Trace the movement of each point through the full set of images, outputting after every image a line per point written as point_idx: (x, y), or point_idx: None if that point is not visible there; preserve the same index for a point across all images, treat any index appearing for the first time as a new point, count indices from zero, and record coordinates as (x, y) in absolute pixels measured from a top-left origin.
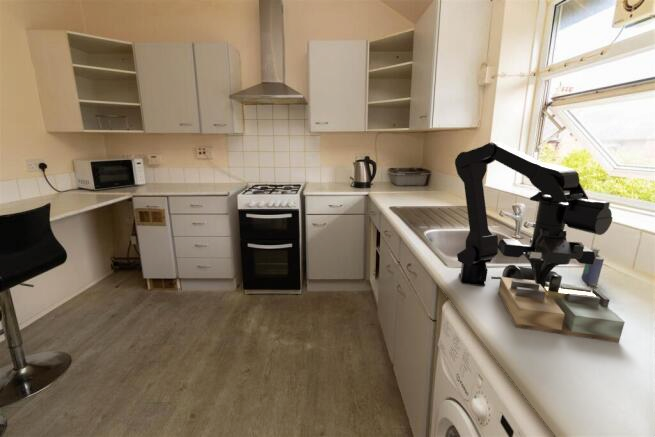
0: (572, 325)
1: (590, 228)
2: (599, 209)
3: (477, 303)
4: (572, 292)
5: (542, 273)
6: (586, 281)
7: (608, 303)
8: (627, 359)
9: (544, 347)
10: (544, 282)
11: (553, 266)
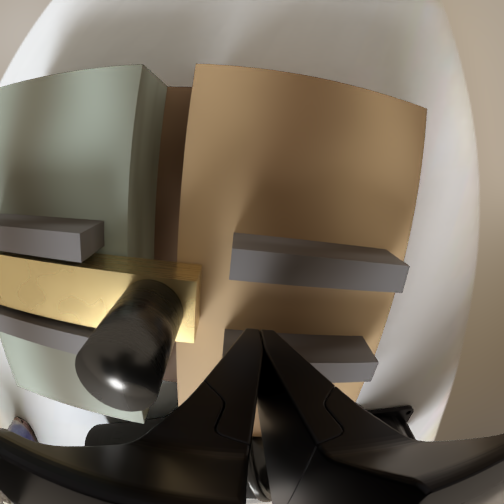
0: (160, 83)
1: None
2: None
3: (437, 285)
4: (56, 287)
5: (258, 388)
6: (30, 436)
7: None
8: (75, 12)
9: (320, 7)
10: (138, 434)
11: (148, 448)
